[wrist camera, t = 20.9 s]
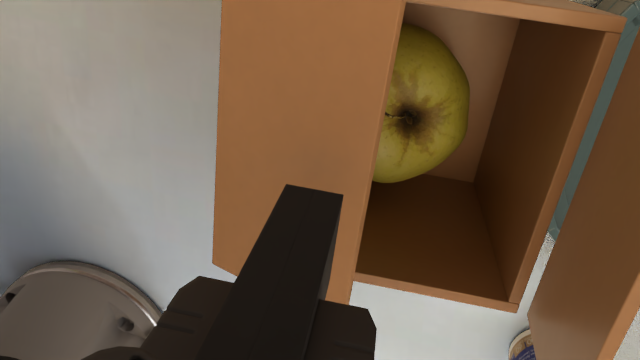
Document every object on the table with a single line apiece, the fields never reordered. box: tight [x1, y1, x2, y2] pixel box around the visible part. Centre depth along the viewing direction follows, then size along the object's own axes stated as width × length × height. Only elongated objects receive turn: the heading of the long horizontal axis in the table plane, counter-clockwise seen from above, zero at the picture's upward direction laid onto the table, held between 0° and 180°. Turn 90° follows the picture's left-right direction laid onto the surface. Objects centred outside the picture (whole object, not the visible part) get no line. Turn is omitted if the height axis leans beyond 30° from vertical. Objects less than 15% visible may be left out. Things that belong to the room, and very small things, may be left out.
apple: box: [372, 23, 470, 183], centre depth 25 cm, size 8×8×10 cm
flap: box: [212, 0, 406, 305], centre depth 17 cm, size 6×12×1 cm, turn 172°
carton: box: [353, 0, 640, 360], centre depth 22 cm, size 14×12×19 cm
